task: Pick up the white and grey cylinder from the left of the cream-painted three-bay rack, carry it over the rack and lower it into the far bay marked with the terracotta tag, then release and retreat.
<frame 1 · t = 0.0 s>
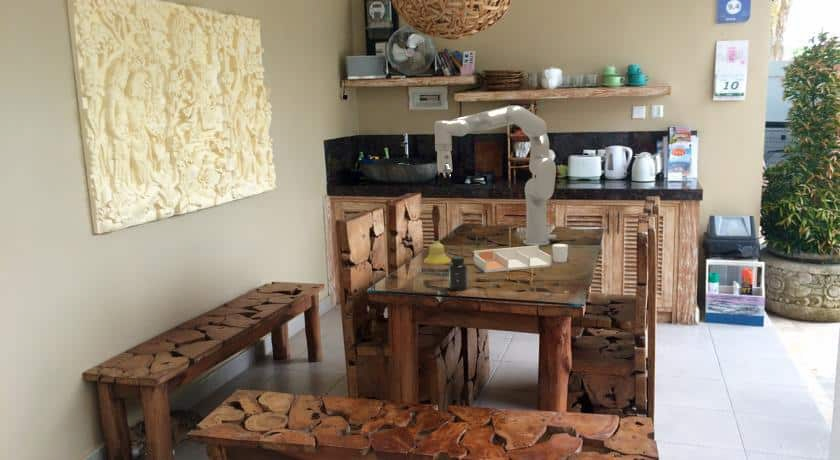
hand: (444, 184, 329), 31 cm above the table, fingers open, 9 cm apart
white and grey cylinder: (560, 261, 308), on the table
rack: (512, 265, 303), on the table
handbell: (437, 261, 316), on the table
supplement bottle: (458, 288, 271), on the table
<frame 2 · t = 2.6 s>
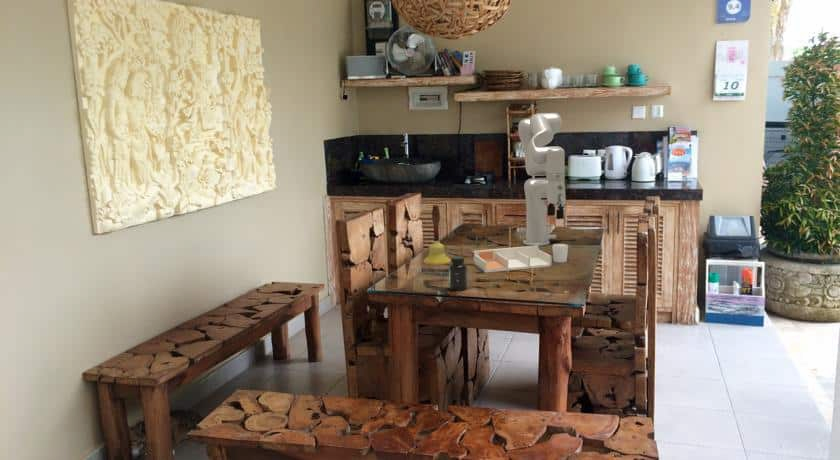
hand: (555, 217, 305), 19 cm above the table, fingers open, 9 cm apart
nothing on the table moved.
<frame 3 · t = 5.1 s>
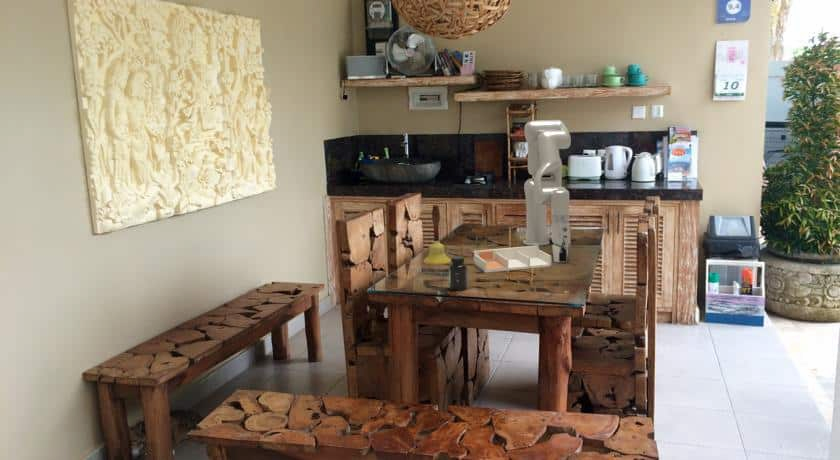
hand: (560, 259, 308), 1 cm above the table, fingers closed on white and grey cylinder, 5 cm apart
white and grey cylinder: (560, 261, 308), on the table, touching gripper
everything else where it was.
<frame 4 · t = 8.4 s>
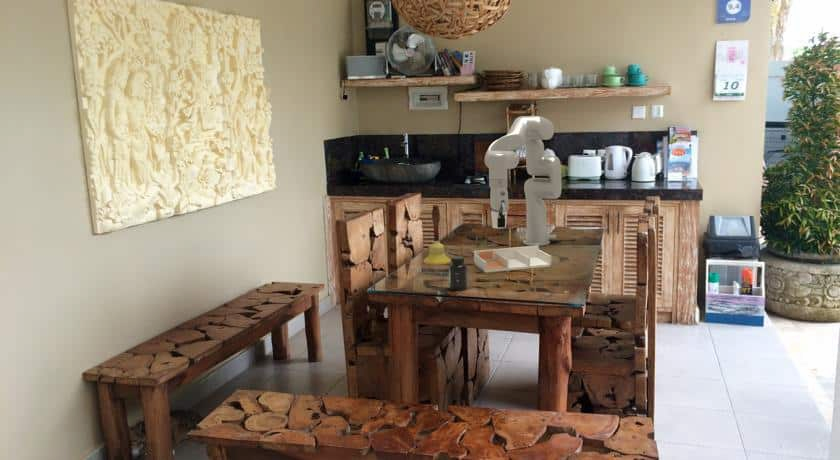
hand: (498, 225, 298), 18 cm above the table, fingers closed on white and grey cylinder, 5 cm apart
white and grey cylinder: (499, 227, 298), point 17 cm above the table, touching gripper
everything else where it was.
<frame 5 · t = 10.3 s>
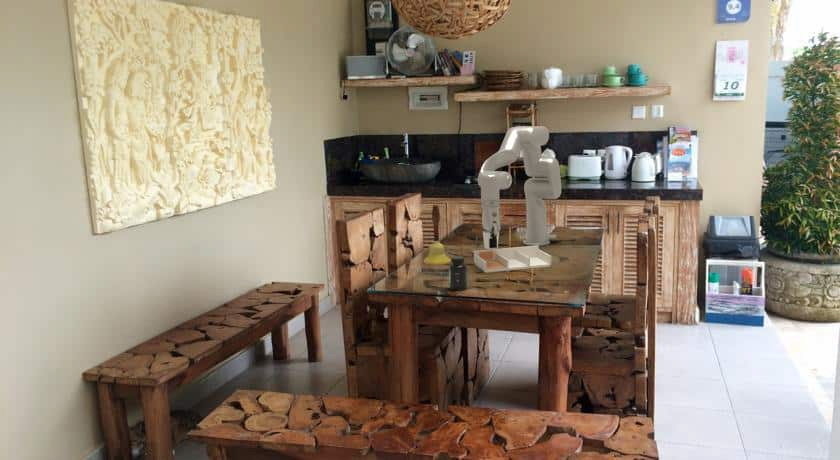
hand: (490, 245, 299), 9 cm above the table, fingers closed on white and grey cylinder, 5 cm apart
white and grey cylinder: (491, 247, 299), point 9 cm above the table, touching gripper
everything else where it was.
when the fingers open (3 cm above the table, at t = 12.0 s): white and grey cylinder moves 1 cm, resting on rack.
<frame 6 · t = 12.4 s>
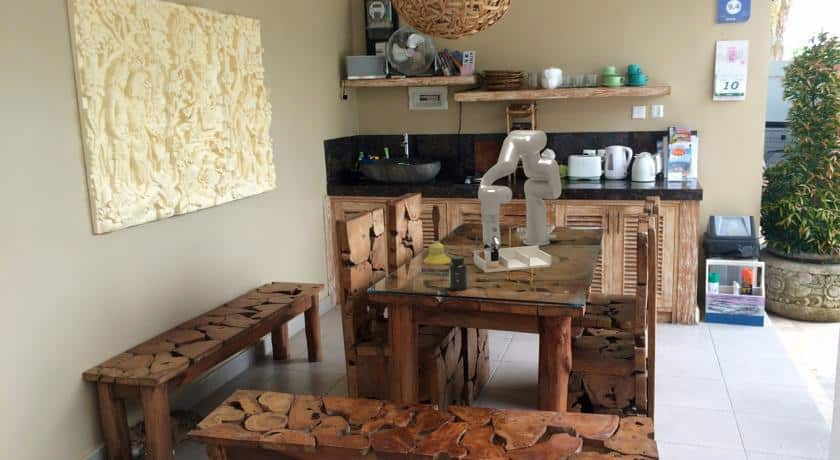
hand: (491, 258, 300), 4 cm above the table, fingers open, 9 cm apart
white and grey cylinder: (492, 265, 300), point 1 cm above the table, touching rack
everything else where it was.
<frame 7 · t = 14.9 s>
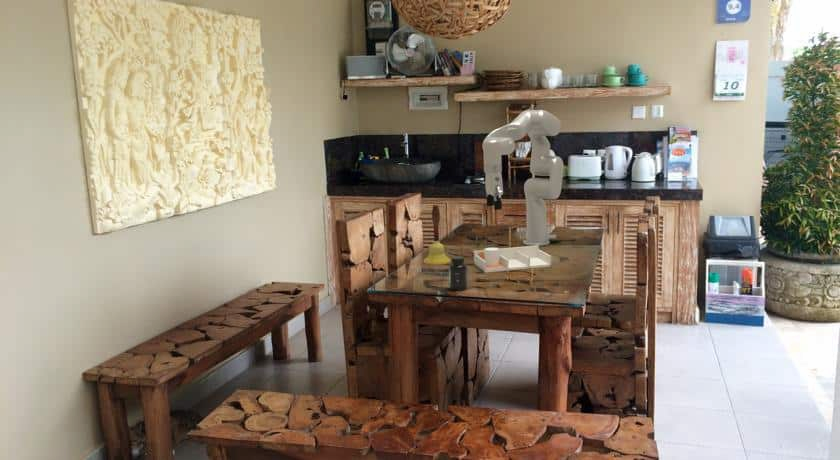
hand: (494, 207, 310), 23 cm above the table, fingers open, 9 cm apart
nothing on the table moved.
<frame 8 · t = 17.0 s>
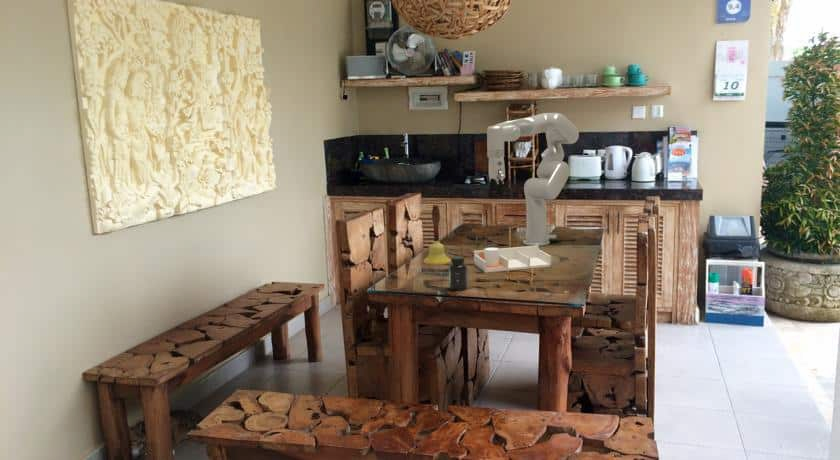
hand: (496, 191, 322), 28 cm above the table, fingers open, 9 cm apart
nothing on the table moved.
at the end: white and grey cylinder 0.5 cm from the target spot on the rack, point 1.0 cm above the rack's base; white and grey cylinder tilted 0°; the gripper is holding nothing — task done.
